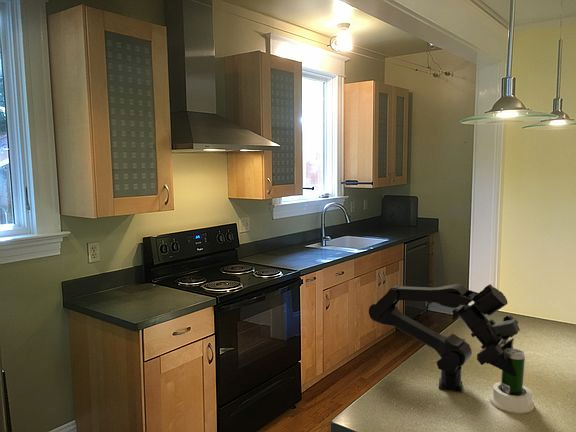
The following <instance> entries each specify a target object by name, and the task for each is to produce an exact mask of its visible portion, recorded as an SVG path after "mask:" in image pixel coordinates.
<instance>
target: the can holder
mask: <svg viewBox="0 0 576 432" xmlns="http://www.w3.org/2000/svg"><path fill="white" fill-rule="evenodd" d="M532 398H533V393H532V390H531V389H530V388H528V387H527V386H525V385H523V390H522V395H521V396H514V395H509V394H506V393H503V392H502V391H501V381H498V382H496V383H494V384H493V386H492V392H491V393H490V394H489V401H490V403H491V405H493V407H495V408H497V409H498V410H501V411H503V412H506V413H511V414H517V415H525V414H530V413H532V412H534V410H535V409H534V408H535V402H534V401H533V399H532Z"/></svg>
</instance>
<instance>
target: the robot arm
mask: <svg viewBox="0 0 576 432" xmlns="http://www.w3.org/2000/svg"><path fill="white" fill-rule="evenodd" d="M400 301H411V302H429V303H435V304H437V305H440V306H443V307H446V308H451V309H452V317H451V319H452V321H455V320H456V319H457V318H460V319H461V321H462V322H463V323H464V324H465V325H466V326H467V328H468V329H469V330H470V331H471V333H470V336H471V337H472V338H476V339H477V341H479V343H480V344H481V346H480V348H481V350H480V351H479V352H478V353H477V355H476V360H477V361H478V363H479V364H480V365H481V366H483V365H484V364H485V365H486V364H487V365H488V364H489V365H491V366H493V367H495V368H497V369H499V370H501V371H502V370H503V371H505V372H506V373H508V374H510V375H512V376H514V377H515V376H516V375H517V373H516V371H515V369H514V368H513V366H512V365H511V363H510V362H509V360H508V359H507V357H506V349H507V348H513V349H514V341H515V339H514V337H515V336H516V335H518V334H519V332H520V331H521V330H520V327H519V321H518V320H517V319H516V318H515V317H513V316H512V315H511V314H508V315H504V317H503V320H501V321H499V322H495V320H494V319H489V318H487V316H486V315H488V316H492V315H494V314H495V313H497V312H498V311H499V310H500V309H502V308H504V307H505V306H506V305H508V303H509V302H508V299H507V297H506V296H505V295H504V293H503V292H502V291H500V290H499V289H498V288H497V287H495V286H493V285H492V284H491V283H489V284H488V285H486V286H484V287H483V289H482V290H480V292H477V291H474V290H472V289H471V290H470V289H467V288H466V287H465V286H464V285H463V284H459V283H454V284H447V285H442V286H439V287H437V286H436V287H431V286H430V287H428V286H426V287H425V286H423V287H422V286H406V285H405V286H402V285H394V286H392V287H391V288H389V289H388V291H387V292H386V293H385V294H384V295H383V296H382V297H381V298H380V299H379V300H378V301H377V302H375V303H372V304H371V305H370V306H369V307H368V315H369V318H370V319H371V320H372V321H373V322H376V323H378V324H380V325H384V326H390V327H395V329H398V330H400V331H402V332H403V333H405V334H406V335H408V336H411V337H412V338H414V339H416V340H417V341H419V342H421V343H422V344H424V345H426V346H428V347H430V348H431V349H433V350H434V351H435V352H436V353H437V354H438V356H439V357H440V358H439V359H438V360H437V361H436V366H437V369H439V370H440V378H439V381H438V389H439V390H442V391H443V390H444V391H451V392H457V393H463V381H462V366H464V364H465V363H466V362H467V361H469V359H470V358H471V356H472V353H473V352H472V348H471V345H470V344H469V343H468V342H466V339H464V338H462V337H461V338H460V337H459V336H457V334H455V333H451V334H449V336H445V335H442V334H440V333H438V332H436V331H435V330H432V329H431V328H429V327H427V326H425V325H423V324H421V323H420V322H418V321H416V320H414V319H413V318H410V317H409V316H407V315H406V314H403V313H402V312H401V311H400V310H399V308H398V307H397V305H398V303H399V302H400ZM471 302H473V303H472V304H471V305H469V304H470V303H471ZM460 306H461V307H460ZM458 307H460V308H458ZM509 338H511V339H509Z"/></svg>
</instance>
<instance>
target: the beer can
mask: <svg viewBox="0 0 576 432" xmlns="http://www.w3.org/2000/svg"><path fill="white" fill-rule="evenodd" d="M506 357H507V359H508V360H509V362H510V363H511V365H512V366H513V368H514V369H515V371H516V373H517V375H516V376H515V377H514V376H512V375H510V374H508V373H506V372H505V371H503V370H501V381H500V382H501V391H502V392H503V393H506V394H509V395H514V396H521V395H522V390H523V386H524V374H525V363H526V361H525V360H526V359H525V358H526V356H525V352H524V351H523V350H521V349H518V348H514V347H513V348H507V349H506Z"/></svg>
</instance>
